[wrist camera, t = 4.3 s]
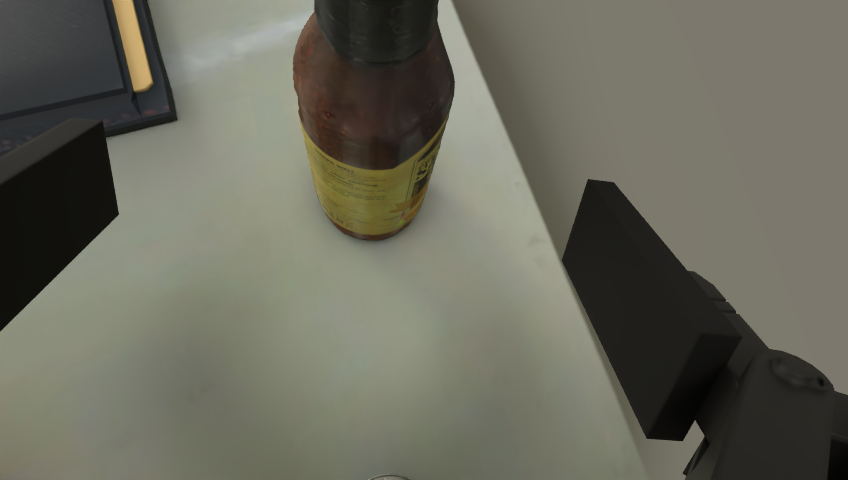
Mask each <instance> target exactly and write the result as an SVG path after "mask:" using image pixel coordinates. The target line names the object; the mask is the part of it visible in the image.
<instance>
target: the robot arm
mask: <svg viewBox="0 0 848 480" xmlns="http://www.w3.org/2000/svg"><path fill="white" fill-rule="evenodd" d="M118 215H119V212H118V206H117V200H116V195H115V189H114V183H113V177H112V171H111V165H110V159H109V154H108V148H107V142H106V136H105V130H104V124H103V121H99V120H91V119H83V118H74V117H71V118H69V119H68V120H66V121H64V122H62V123H60V124H59V125H57V126H55V127H53V128H51V129H50V130H48V131H46V132H44V133H42V134H41V135H39V136H37V137H35V138H33V139H32V140H30V141H28V142H26V143H24V144H23V145H21V146H19V147H17V148H15V149H14V150H12V151H10V152H8V153H6V154H5V155H3V156H1V157H0V331H1V330H2V329H3V328H4V327H5V326H6V325H7V324H8V323H9V322H10V321H11V320H12V319H13V318H14V317H15V316H16V315H17V314H18V313H19V312H20V311H22V310H23V309H24V308H25V307H26V306H27V305H28V304H29V303H30V302H31V301H32V300H33V299H34V298H35V297H36V296H37V295H38V294H39V293H40V292H41V291H42V290H43V289H44V288H45V287H46V286H47V285H48V284H49V283H50V282H51V281H52V280H53V279H54V278H55V277H56V276H57V275H58V274H59V273H60V272H61V271H62V270H63V269H64V268H65V267H66V266H67V265H68V264H69V263H70V262H71V261H72V260H73V259H74V258H75V257H76V256H77V255H78V254H79V253H80V252H81V251H82V250H83V249H84V248H85V247H86V246H87V245H88V244H89V243H90V242H91V241H92V240H93V239H94V238H96V237H97V236H98V235H99V234H100V233H101V232H102V231H103V230H104V229H105V228H106V227H107V226H108V225H109V224H110V223H111V222H112V221H113V220H114V219H115V218H116V217H117V216H118ZM562 262H563V264H564V266H565V268H566V270H567V273H568V275H569V277H570V279H571V281H572V283H573V285H574V287H575V289H576V291H577V293H578V295H579V298H580V300H581V302H582V304H583V306H584V308H585V310H586V312H587V314H588V316H589V318H590V321H591V323H592V325H593V327H594V329H595V331H596V333H597V335H598V337H599V340H600V342H601V344H602V346H603V348H604V350H605V352H606V354H607V356H608V358H609V361H610V363H611V365H612V367H613V369H614V371H615V373H616V375H617V377H618V379H619V381H620V384H621V386H622V388H623V390H624V392H625V394H626V396H627V398H628V400H629V402H630V405H631V407H632V409H633V411H634V413H635V415H636V417H637V419H638V421H639V423H640V426H641V428H642V430H643V432H644V434H645V436H646V438H647V439H660V440H673V441H683V440H684V438H685V436H686V434H687V433H688V431H689V429H690V427H691V426H692V424H693V422H694V421H695V420H696V422H697V424H698V425H699V427H700V429H701V430H702V432H703V434H704V436H705V437H704V438H703V440H702V442H701V443H700V445H699V447H698V448H697V450H696V452H695V453H694V455H693V457H692V458H691V460H690V462H689V463H688V465H687V467H686V468H685V470H684V472H683V474H684V475H686V478H685V480H848V395H846V394H842V393H839V392H836V391H834V388H833V385H832V384H831V382H830V381H829V380H828V379H827V377H826V376H825V375H824V374H823V373H821V372H820V371H819V370H817V369H816V368H815V367H814V366H813V365H811V364H809V363H807V362H806V361H804V360H802V359H800V358H799V357H797V356H794V355H791V354H789V353H786V352H783V351H779V350H772V349H769V348H768V347H767V346H766V345H765V344H764V343H763V341H762V340H761V339H760V338H759V337H758V336H757V334H755V332H754V331H753V330H752V329H751V328H750V326H749V325H748V324H747V323H746V322H745V321H744V320H743V318H742V317H741V316H740V315H739V314H736V311H735V309H734V308H733V307H732V306H731V305H730V304H729V303H728V302H726V299H725V298H724V297H723V296H722V294H721V293H720V292H719V291H718V290H717V289H716V287H715V286H714V285H713V284H711V283H710V282H708V281H707V280H705V279H704V278H703V277H701V276H700V275H698V274H697V273H695V272H693V271H687V270H686V269H685V267H684V266H683V265H682V264H681V263H680V261H679V260H678V259H677V258H676V257H675V256H674V254H673V253H672V252H671V251H670V249H669V248H668V247H667V246H666V245H665V244H664V242H663V241H662V240H661V239H660V237H659V236H658V235H657V234H656V233H655V231H654V230H653V229H652V228H651V227H650V225H649V224H648V223H647V222H646V221H645V219H644V218H643V217H642V216H641V215H640V214H639V212H638V211H637V210H636V209H635V207H634V206H633V205H632V204H631V203H630V201H629V200H628V199H627V198H626V197H625V195H624V194H623V193H622V192H621V191H620V190H619V188H618V187H617V186H616V185H615V183H613V182H607V181H598V180H590V179H588V181H587V184H586V187H585V190H584V193H583V196H582V199H581V202H580V205H579V209H578V212H577V215H576V218H575V221H574V224H573V227H572V231H571V233H570V237H569V240H568V243H567V246H566V249H565V252H564V255H563V258H562Z"/></svg>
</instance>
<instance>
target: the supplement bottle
mask: <svg viewBox="0 0 848 480" xmlns="http://www.w3.org/2000/svg"><path fill="white" fill-rule="evenodd" d="M368 480H410V479H408V478H406V477H403V476H400V475H396V474H383V475H378V476H375V477H372V478H370V479H368Z"/></svg>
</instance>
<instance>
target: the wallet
mask: <svg viewBox="0 0 848 480" xmlns="http://www.w3.org/2000/svg"><path fill="white" fill-rule="evenodd" d="M71 117H74V118H83V119H91V120H99V121H103V124H104V130H105V136H106V137H107V136H112V135H116V134H120V133H124V132H128V131H132V130H136V129H140V128H144V127H148V126H152V125H156V124H160V123H164V122H169V121H173V120H177V118H176V112H175V107H174V102H173V97H172V92H171V88H170V84H169V81H168V78H167V74H166V71H165V68H164V65H163V61H162V58H161V55H160V51H159V47H158V43H157V39H156V35H155V31H154V27H153V23H152V19H151V15H150V12H149V8H148V4H147V0H0V157H1V156H3V155H5V154H6V153H8V152H10V151H12V150H14V149H15V148H17V147H19V146H21V145H23V144H24V143H26V142H28V141H30V140H32V139H33V138H35V137H37V136H39V135H41V134H42V133H44V132H46V131H48V130H50V129H51V128H53V127H55V126H57V125H59V124H60V123H62V122H64V121H66V120H68V119H69V118H71Z"/></svg>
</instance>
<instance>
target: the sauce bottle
mask: <svg viewBox="0 0 848 480" xmlns="http://www.w3.org/2000/svg"><path fill="white" fill-rule="evenodd" d="M438 1H439V0H315V5H314V11H315V12H314V13H313V14H312V15H311V17H310V18H309V20H308V21H307V23H306V25H305V26H304V28H303V30H302V32H301V34H300V36H299V39H298V41H297V44H296V48H295V53H294V57H293V72H294V73H293V80H294V88H295V91H296V93H297V96H298V105H299V111H298V113H299V118H300V122H301V126H302V131H303V135H304V140H305V144H306V149H307V153H308V157H309V162H310V167H311V171H312V175H313V180H314V184H315V188H316V192H317V195H318V198H319V201H320V204H321V205H322V207H323V209H324V211H325V212H326V214H327V216H328V217H329V218H330V219H331V221H332V222H333V223H334V225H336V226H337V228H338V229H340V230H341V231H342V232H344V233H345V234H348V235H351V236H353V237H358V238H361V239H366V240H369V239H370V240H378V239H384V238H387V237H390V236H392V235H394V234H396V233H397V232H399V231H400V230H401V229H403V228H404V227H406V226H407V225H408V224H409V223H410V222H411V220H412V219H413V217H414V216H415V215H416V213H417V212H418V210H419V209H420V207H421V205H422V202H423V200H424V196H425V193H426V190H427V186H428V183H429V180H430V176H431V173H432V170H433V167H434V163H435V160H436V157H437V155H438V151H439V148H440V143H441V139H442V136H443V133H444V130H445V126H446V123H447V120H448V117H449V112H450V109H451V105H452V101H453V97H454V86H455V81H454V74H453V70H452V67H451V64H450V61H449V58H448V55H447V52H446V49H445V46H444V43H443V40H442V36H441V33H440V29H439V26H438V22H437V17H438V7H437V6H438Z"/></svg>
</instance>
